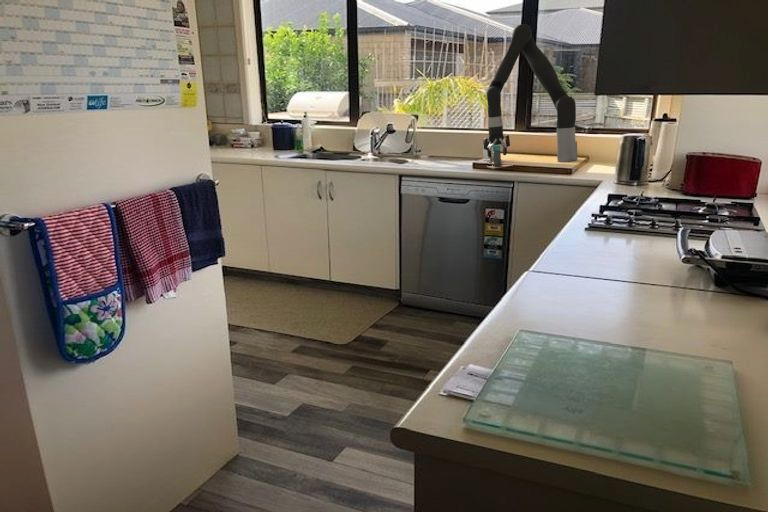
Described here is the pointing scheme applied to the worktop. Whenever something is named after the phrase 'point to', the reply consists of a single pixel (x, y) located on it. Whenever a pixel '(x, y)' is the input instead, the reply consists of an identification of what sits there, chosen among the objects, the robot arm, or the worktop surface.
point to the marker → (497, 155)
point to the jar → (486, 151)
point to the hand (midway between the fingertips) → (497, 156)
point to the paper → (499, 166)
